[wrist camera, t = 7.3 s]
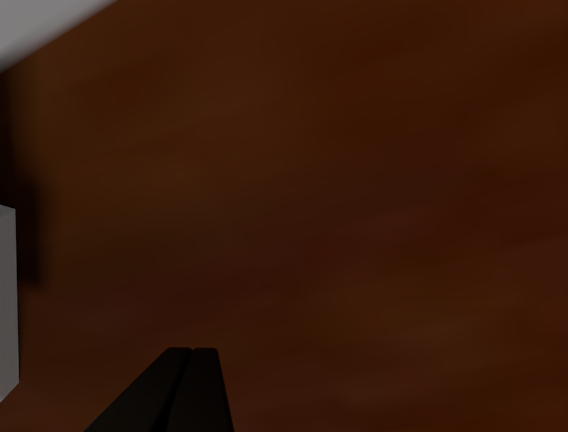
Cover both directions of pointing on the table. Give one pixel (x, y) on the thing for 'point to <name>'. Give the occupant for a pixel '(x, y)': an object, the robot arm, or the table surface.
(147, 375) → the robot arm
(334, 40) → the table surface
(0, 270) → the camera body
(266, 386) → the table surface
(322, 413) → the table surface
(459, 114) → the table surface
